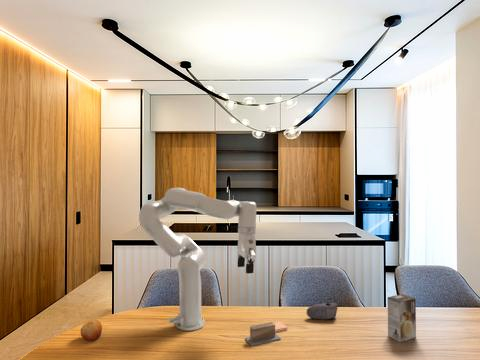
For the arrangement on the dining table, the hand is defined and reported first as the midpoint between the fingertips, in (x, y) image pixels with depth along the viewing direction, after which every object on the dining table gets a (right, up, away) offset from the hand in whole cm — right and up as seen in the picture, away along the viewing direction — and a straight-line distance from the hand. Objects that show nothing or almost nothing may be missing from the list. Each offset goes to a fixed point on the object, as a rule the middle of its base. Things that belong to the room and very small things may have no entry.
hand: (245, 269), depth 141 cm
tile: (+12, -25, +3) cm, 28 cm away
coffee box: (+64, -26, -7) cm, 69 cm away
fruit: (-62, -26, -8) cm, 68 cm away
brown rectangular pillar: (+7, -25, -9) cm, 28 cm away
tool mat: (+7, -25, -9) cm, 28 cm away
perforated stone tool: (+36, -26, +10) cm, 45 cm away
